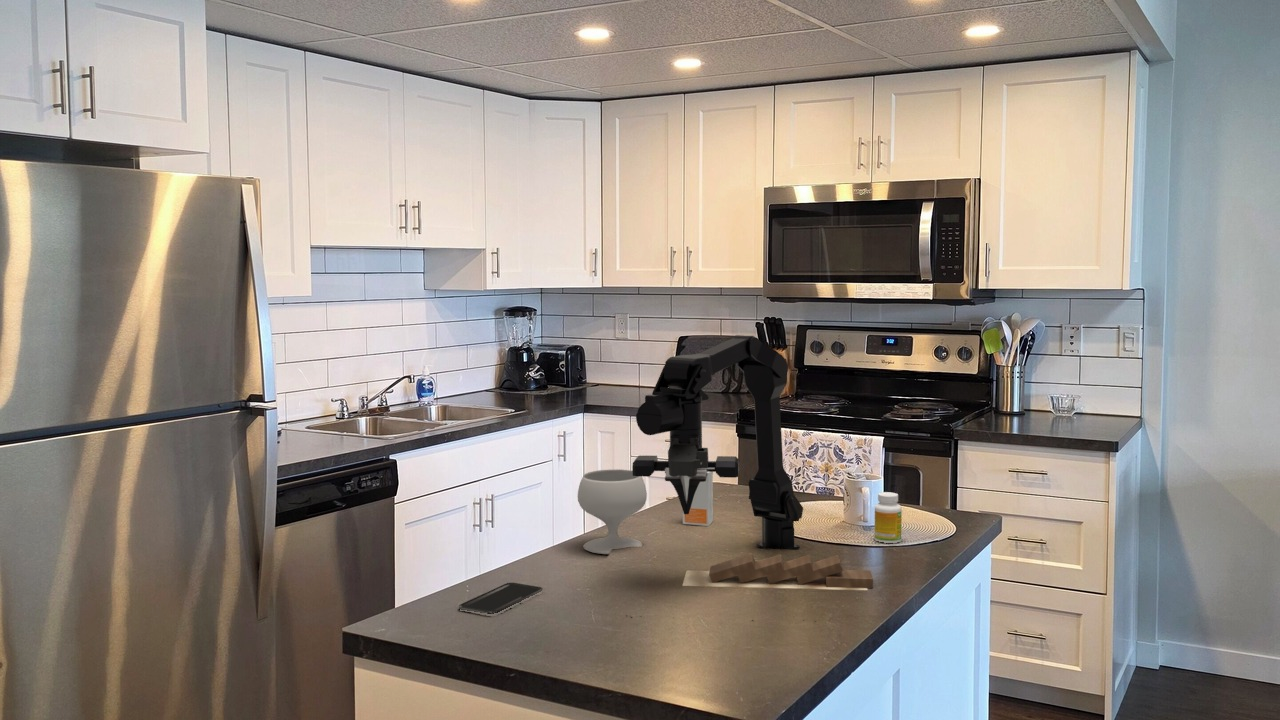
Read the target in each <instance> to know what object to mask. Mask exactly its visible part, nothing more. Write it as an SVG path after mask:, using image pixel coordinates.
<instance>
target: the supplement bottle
mask: <svg viewBox="0 0 1280 720" xmlns="http://www.w3.org/2000/svg"><path fill="white" fill-rule="evenodd" d="M877 500H878V503H876V504H875V506H874V534H873V535H874V540H875V541H876V542H877V541H879V542H878V543H880V542H884V543H883V544H886V543H893V544H898V543H897V542H899V543H901V541H902V520H903V519H902V516H903V515H902V512H903V511H902V506H901V505H900V504H898V502H899V494H898V493H897V492H896V493H895V492H890V491H889V492H888V491H883V492H879V493H878V494H877Z"/></svg>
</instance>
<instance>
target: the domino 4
mask: <svg viewBox="0 0 1280 720" xmlns="http://www.w3.org/2000/svg"><path fill="white" fill-rule="evenodd" d="M812 565H813V571H812V572H808V573H805V574H802V575H798V576H796V577H797V580H798V583H799V585H800V584H804V583H807V582H810V581H813V580H816V579H820V578H823V577H826V576H829V575H832V574H835V573H839V572H842V571H843V570H844V569H843V565H842V561H841V559H840V556H839V554H836V555H832V556H830V557H829V556H828V557H826V558H822V559H820V560H816V561H814V562H813V561H812Z"/></svg>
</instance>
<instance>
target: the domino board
mask: <svg viewBox="0 0 1280 720" xmlns="http://www.w3.org/2000/svg"><path fill="white" fill-rule="evenodd" d="M709 572H710V570H689V569H688V570H686V572H685V575H684V578H683V582H682V587H683V586H684V587H708V588H709V587H715V588H716V587H717V588H753V589H754V588H756V589H797V590H798V589H799V590H830V591H831V590H832V591H833V590H834V591H835V590H837V591H838V590H839V591H868V590H869V588H849V587H826V583H825V577H823V578H820V579H816V580H813V581H810V582H807V583H804V584H800V585H799V583H798V580H797V577H796V576H795V577H792V578H788V579H785V580H782V581H779V582H775V583H772V584H769V581H768V578H767V576H764V577H760V578H757V579H754V580H750V581H747V582H744V583H740V580H739V578H738V575H736V576H733V577H730V578H726V579H723V580H720V581H716V582H713V583H712V581H711V578H710V576H709Z"/></svg>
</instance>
